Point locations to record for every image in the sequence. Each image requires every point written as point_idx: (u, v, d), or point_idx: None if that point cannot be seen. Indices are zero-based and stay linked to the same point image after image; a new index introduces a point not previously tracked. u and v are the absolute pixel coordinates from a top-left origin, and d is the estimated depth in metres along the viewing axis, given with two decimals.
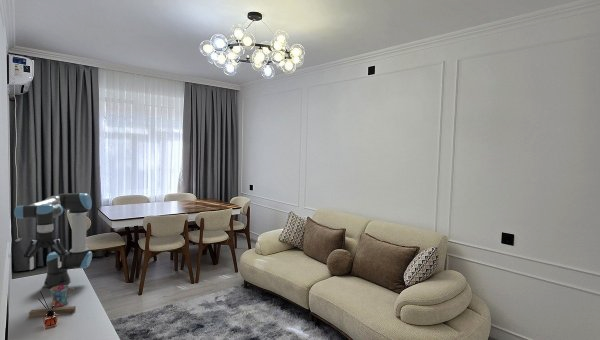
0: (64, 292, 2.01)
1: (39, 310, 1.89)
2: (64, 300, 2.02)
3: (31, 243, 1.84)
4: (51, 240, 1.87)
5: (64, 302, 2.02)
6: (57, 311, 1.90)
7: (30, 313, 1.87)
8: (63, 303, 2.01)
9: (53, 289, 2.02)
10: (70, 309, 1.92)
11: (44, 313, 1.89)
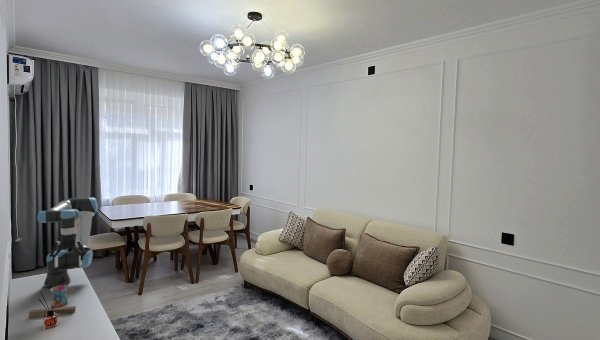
0: (64, 292, 2.01)
1: (39, 310, 1.89)
2: (64, 300, 2.02)
3: (56, 244, 2.08)
4: (73, 241, 2.11)
5: (64, 302, 2.02)
6: (57, 311, 1.90)
7: (30, 313, 1.87)
8: (63, 303, 2.01)
9: (53, 289, 2.02)
10: (70, 309, 1.92)
11: (44, 313, 1.89)
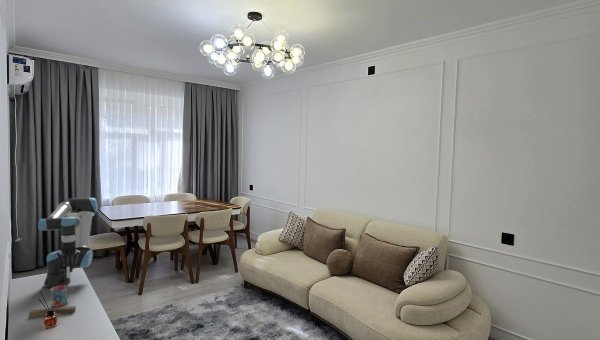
0: (64, 292, 2.01)
1: (39, 310, 1.89)
2: (64, 300, 2.02)
3: (58, 254, 2.09)
4: (74, 249, 2.12)
5: (64, 302, 2.02)
6: (57, 311, 1.90)
7: (30, 313, 1.87)
8: (63, 303, 2.01)
9: (53, 289, 2.02)
10: (70, 309, 1.92)
11: (44, 313, 1.89)
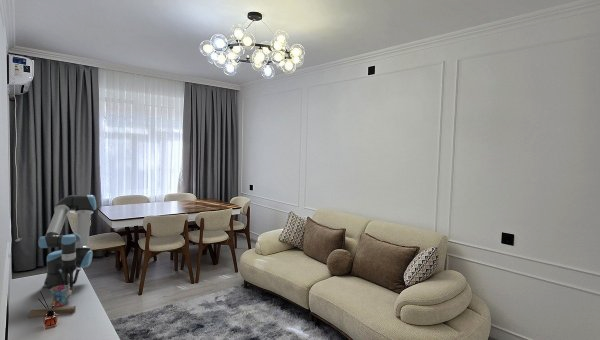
0: (64, 292, 2.01)
1: (39, 310, 1.89)
2: (64, 300, 2.02)
3: (59, 272, 2.10)
4: (74, 267, 2.12)
5: (64, 302, 2.02)
6: (57, 311, 1.90)
7: (30, 313, 1.87)
8: (63, 303, 2.01)
9: (53, 289, 2.02)
10: (70, 309, 1.92)
11: (44, 313, 1.89)
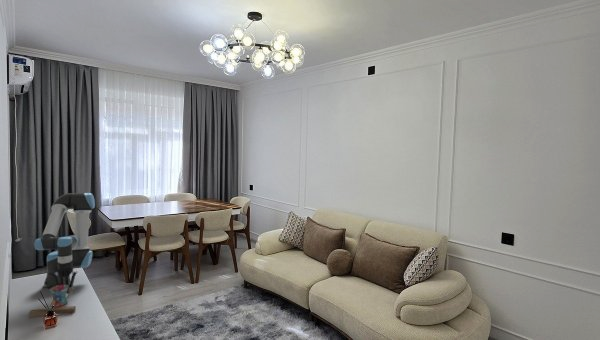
0: (64, 292, 2.01)
1: (39, 310, 1.89)
2: (64, 300, 2.02)
3: (54, 275, 2.04)
4: (71, 270, 2.07)
5: (64, 302, 2.02)
6: (57, 311, 1.90)
7: (30, 313, 1.87)
8: (63, 303, 2.01)
9: (53, 289, 2.02)
10: (70, 309, 1.92)
11: (44, 313, 1.89)
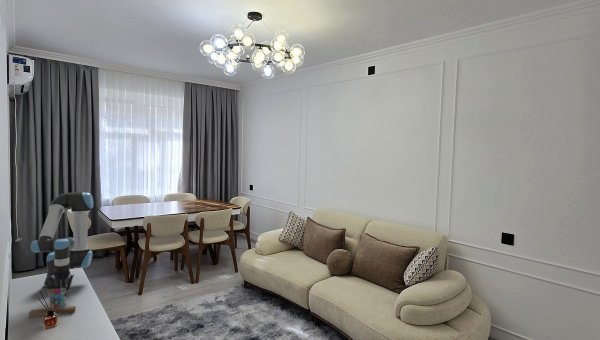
0: (63, 295, 1.98)
1: (39, 310, 1.89)
2: (63, 303, 1.98)
3: (51, 279, 2.00)
4: (68, 273, 2.03)
5: (63, 305, 1.98)
6: (57, 311, 1.90)
7: (30, 313, 1.87)
8: (62, 306, 1.97)
9: (50, 293, 1.97)
10: (70, 309, 1.92)
11: (44, 313, 1.89)
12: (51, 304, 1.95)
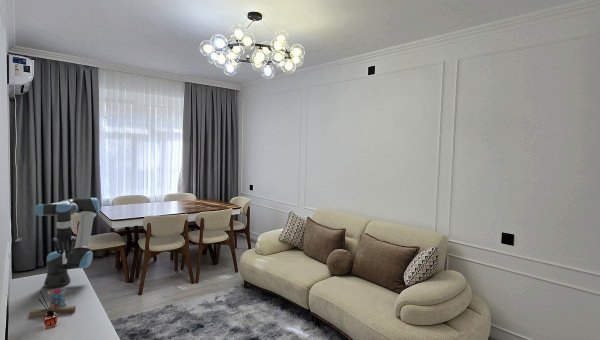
0: (63, 295, 1.98)
1: (39, 310, 1.89)
2: (63, 303, 1.98)
3: (54, 241, 2.07)
4: (70, 235, 2.10)
5: (63, 305, 1.98)
6: (57, 311, 1.90)
7: (30, 313, 1.87)
8: (62, 306, 1.97)
9: (50, 293, 1.97)
10: (70, 309, 1.92)
11: (44, 313, 1.89)
12: (51, 304, 1.95)
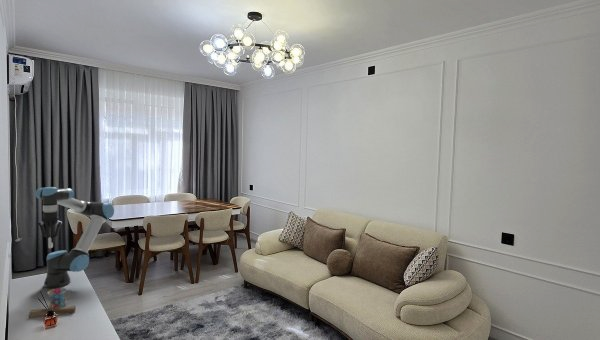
0: (63, 295, 1.98)
1: (39, 310, 1.89)
2: (63, 303, 1.98)
3: (40, 224, 2.08)
4: (56, 219, 2.10)
5: (63, 305, 1.98)
6: (57, 311, 1.90)
7: (30, 313, 1.87)
8: (62, 306, 1.97)
9: (50, 293, 1.97)
10: (70, 309, 1.92)
11: (44, 313, 1.89)
12: (51, 304, 1.95)
